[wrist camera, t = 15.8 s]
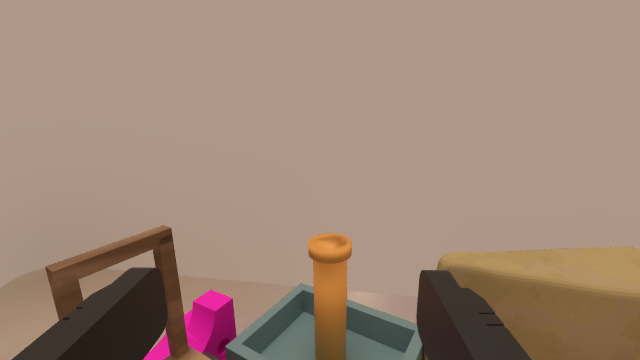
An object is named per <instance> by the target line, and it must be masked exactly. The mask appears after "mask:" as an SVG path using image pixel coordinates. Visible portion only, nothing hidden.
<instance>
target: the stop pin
mask: <svg viewBox="0 0 640 360" xmlns="http://www.w3.org/2000/svg"><path fill="white" fill-rule="evenodd" d="M308 245H309V246H308V247H309V256H310V258H312V259H313V276H314V277H313V278H314V328H315V360H346V314H347V259H349V258H350V257H351V252H352V250H351V249H352V242H351V240H350V239H349V238H348V237H346V236H344V235H341V234H334V233H325V234H319V235H316V236H314V237H312V238H311V239H310V240H309V242H308Z"/></svg>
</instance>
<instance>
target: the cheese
mask: <svg viewBox="0 0 640 360" xmlns="http://www.w3.org/2000/svg"><path fill="white" fill-rule="evenodd" d="M437 270H447V271H449V272H450V273H451V275H452V276H453V277H454V279H455V280H456V282H457V283H458V285H459V286H460V287H461V288H469V289H471V290H472V291H474V292H475V293H477V294H478V295H479V296H481V297H482V298H484V299H485V300H486V302H487V303H488V304H489V305H490V307H491V308H492V309H493V311H494V312H495V315H497V316H498V317H499V318H500V320H501V321H502V322H503V323H504V327H507V329H508V330H509V331H510V332H511V334H512V335H513V336H514V338H515V339H516V340H517V341H518V343H519V344H520V345H521V347H522V348H523V349H524V350H525V352H526V353H527V354H528V356H529V357H530V358H531V359H532V360H640V249H637V248H633V247H609V248H608V247H607V248H566V249H549V250H532V251H510V252H457V253H449V254H446V255H444V256H442V257H441V258H440V260H439V262H438V266H437ZM423 360H428V358H427V356H426V353H425V350H424V355H423Z"/></svg>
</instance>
